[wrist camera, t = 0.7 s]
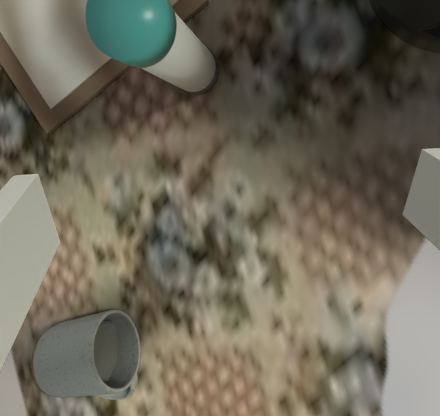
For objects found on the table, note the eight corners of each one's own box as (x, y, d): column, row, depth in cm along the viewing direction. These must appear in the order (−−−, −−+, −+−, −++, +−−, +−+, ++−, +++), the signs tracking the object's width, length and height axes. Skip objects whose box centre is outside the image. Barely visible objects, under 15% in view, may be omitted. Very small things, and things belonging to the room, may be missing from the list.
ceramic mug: (62, 312, 39) (9, 353, 32) (125, 296, 37) (83, 334, 30) (97, 395, 40) (53, 452, 33) (159, 383, 38) (128, 441, 31)
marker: (203, 34, 31) (132, -52, 17) (230, 76, 31) (179, 23, 18) (164, 65, 32) (70, 6, 19) (190, 106, 32) (115, 77, 19)
